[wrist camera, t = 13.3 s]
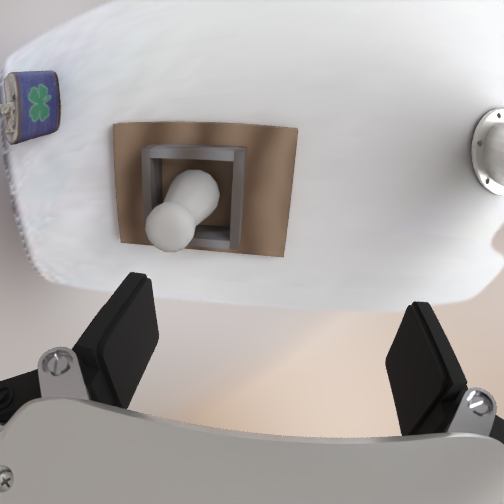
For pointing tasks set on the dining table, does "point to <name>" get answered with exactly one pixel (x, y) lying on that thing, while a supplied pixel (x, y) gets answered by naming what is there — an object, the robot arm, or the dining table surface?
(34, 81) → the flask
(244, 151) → the holder board
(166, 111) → the dining table surface
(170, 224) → the salt shaker
